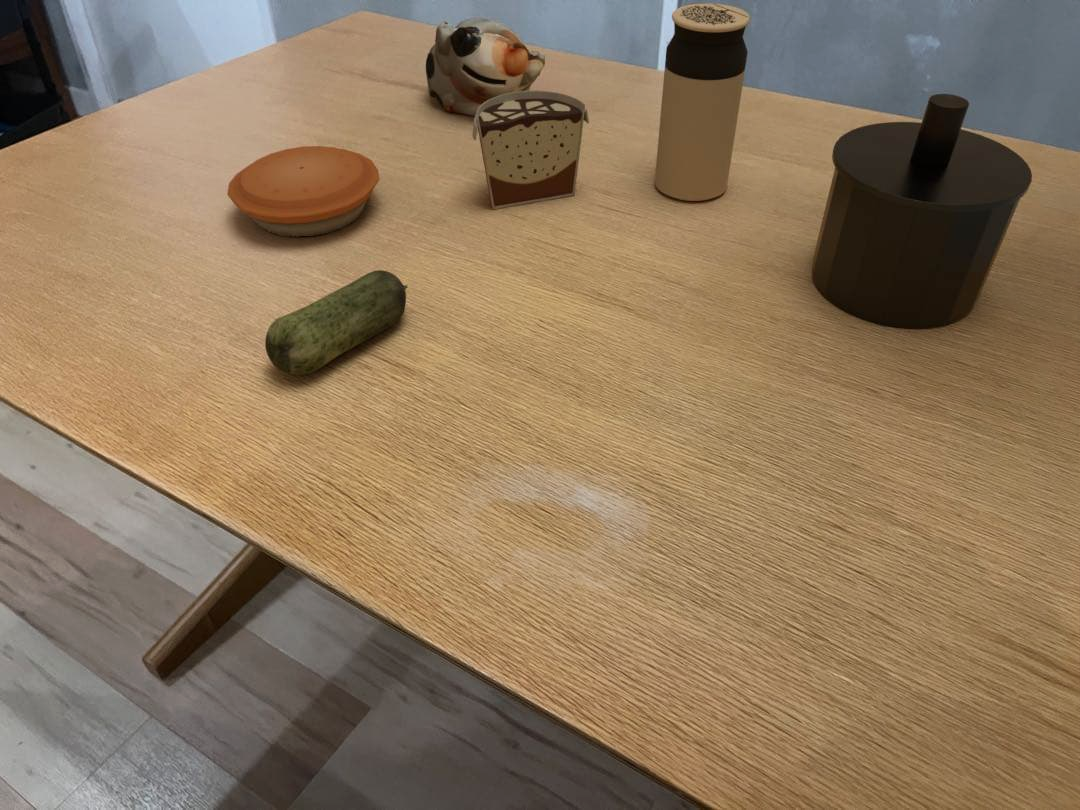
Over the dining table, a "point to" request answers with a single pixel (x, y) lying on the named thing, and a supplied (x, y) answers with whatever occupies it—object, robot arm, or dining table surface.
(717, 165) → the travel mug
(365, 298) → the vegetable
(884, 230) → the bin
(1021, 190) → the bin lid
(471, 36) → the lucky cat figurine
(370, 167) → the pie
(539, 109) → the food container
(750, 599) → the dining table surface
